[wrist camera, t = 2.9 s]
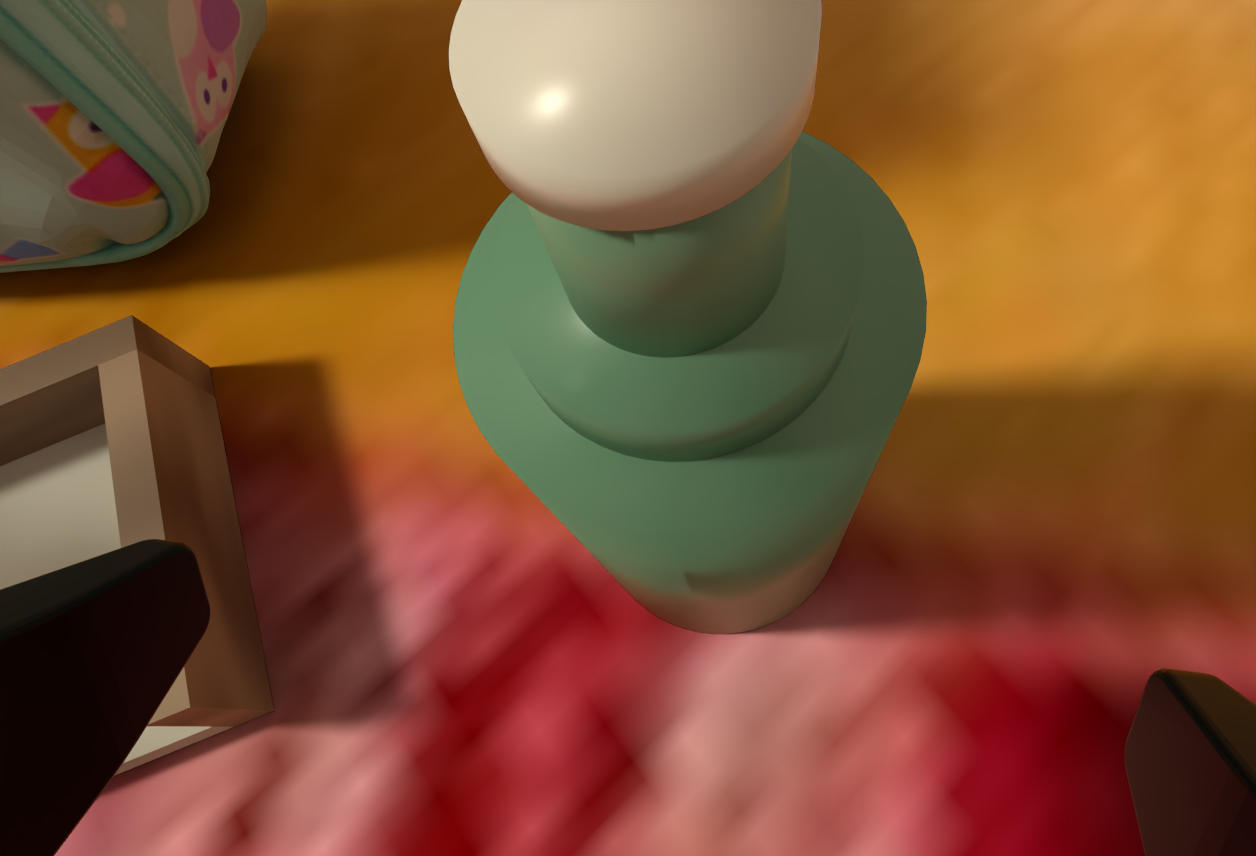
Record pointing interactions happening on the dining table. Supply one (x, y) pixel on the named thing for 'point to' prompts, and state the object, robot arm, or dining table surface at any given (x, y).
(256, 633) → the rest
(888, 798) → the dining table surface
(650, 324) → the bottle
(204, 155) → the lunch box
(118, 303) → the dining table surface
